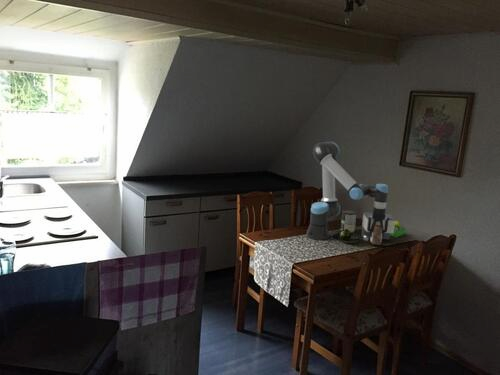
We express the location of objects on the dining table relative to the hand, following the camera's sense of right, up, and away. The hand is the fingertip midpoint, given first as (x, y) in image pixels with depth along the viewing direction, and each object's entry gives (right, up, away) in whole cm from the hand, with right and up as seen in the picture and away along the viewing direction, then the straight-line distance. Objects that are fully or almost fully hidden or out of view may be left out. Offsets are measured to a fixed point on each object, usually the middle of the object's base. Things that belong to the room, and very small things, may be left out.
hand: (375, 241), depth 278 cm
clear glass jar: (-11, +4, +31) cm, 34 cm away
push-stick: (0, 0, +5) cm, 5 cm away
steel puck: (-3, 0, +11) cm, 11 cm away
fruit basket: (+22, +1, +26) cm, 34 cm away
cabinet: (+5, 0, +13) cm, 14 cm away
